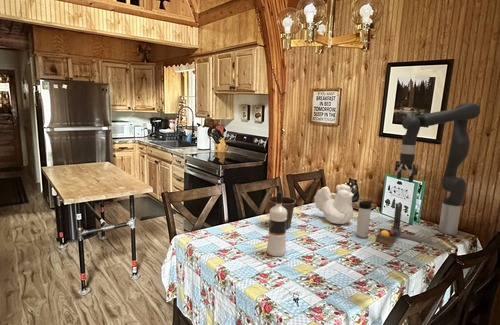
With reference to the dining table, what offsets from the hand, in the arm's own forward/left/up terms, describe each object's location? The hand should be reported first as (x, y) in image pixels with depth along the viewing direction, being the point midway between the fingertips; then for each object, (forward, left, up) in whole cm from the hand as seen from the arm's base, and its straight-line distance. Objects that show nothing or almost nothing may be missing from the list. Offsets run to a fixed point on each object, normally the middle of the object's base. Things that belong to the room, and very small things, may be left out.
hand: (404, 180), depth 184 cm
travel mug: (+22, -18, -30) cm, 42 cm away
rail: (+11, +5, -30) cm, 32 cm away
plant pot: (+31, -63, -30) cm, 76 cm away
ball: (+20, -7, -28) cm, 35 cm away
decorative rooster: (+4, -38, -30) cm, 49 cm away
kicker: (+16, -2, -30) cm, 34 cm away
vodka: (+66, -52, -30) cm, 89 cm away
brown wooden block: (+21, -6, -30) cm, 37 cm away
